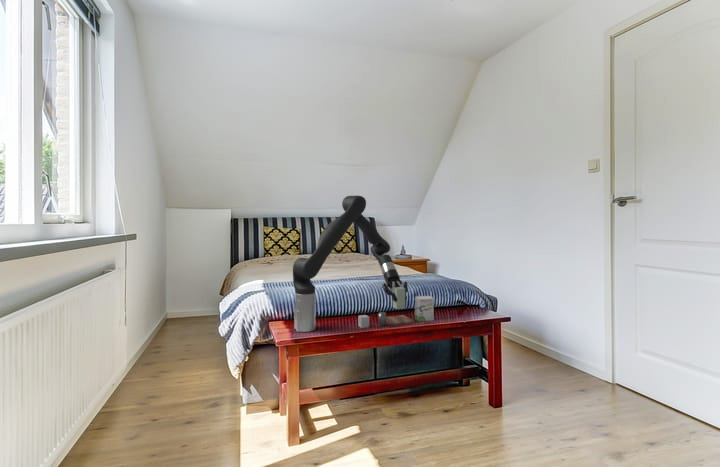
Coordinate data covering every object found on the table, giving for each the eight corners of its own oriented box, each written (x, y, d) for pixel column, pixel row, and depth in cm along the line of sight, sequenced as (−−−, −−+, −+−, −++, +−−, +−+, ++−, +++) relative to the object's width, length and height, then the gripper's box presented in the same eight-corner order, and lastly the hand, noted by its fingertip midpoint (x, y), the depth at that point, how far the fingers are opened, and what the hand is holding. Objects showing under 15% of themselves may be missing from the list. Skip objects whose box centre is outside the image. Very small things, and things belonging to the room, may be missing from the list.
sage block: (396, 309, 194) (397, 289, 193) (392, 307, 198) (392, 287, 197) (405, 308, 196) (405, 288, 195) (400, 306, 200) (400, 286, 199)
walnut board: (393, 325, 189) (393, 323, 189) (382, 319, 200) (382, 317, 200) (415, 322, 194) (415, 320, 194) (403, 316, 205) (403, 314, 205)
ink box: (418, 321, 196) (418, 298, 195) (414, 319, 200) (414, 296, 200) (434, 320, 198) (434, 297, 197) (429, 318, 203) (429, 295, 202)
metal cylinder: (379, 326, 187) (378, 314, 187) (378, 324, 191) (377, 312, 190) (386, 326, 187) (386, 313, 187) (385, 324, 191) (385, 311, 191)
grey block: (361, 328, 185) (361, 317, 185) (358, 325, 188) (358, 315, 188) (369, 327, 186) (369, 316, 186) (365, 325, 190) (365, 314, 190)
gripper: (379, 269, 200) (390, 297, 189) (404, 267, 205) (416, 295, 195) (375, 278, 205) (385, 306, 195) (399, 276, 210) (410, 303, 200)
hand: (400, 300), depth 195 cm, fingers closed on sage block, 4 cm apart
